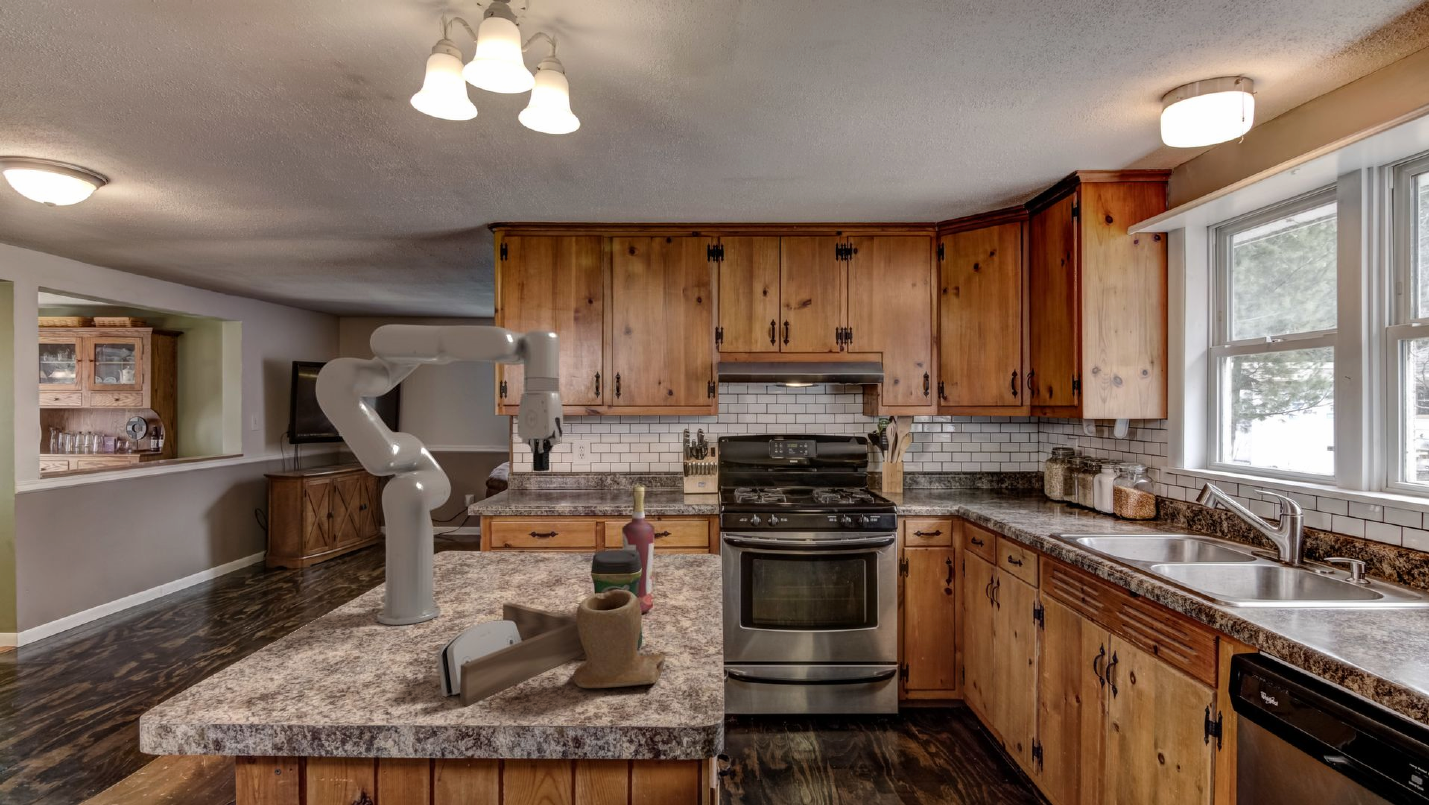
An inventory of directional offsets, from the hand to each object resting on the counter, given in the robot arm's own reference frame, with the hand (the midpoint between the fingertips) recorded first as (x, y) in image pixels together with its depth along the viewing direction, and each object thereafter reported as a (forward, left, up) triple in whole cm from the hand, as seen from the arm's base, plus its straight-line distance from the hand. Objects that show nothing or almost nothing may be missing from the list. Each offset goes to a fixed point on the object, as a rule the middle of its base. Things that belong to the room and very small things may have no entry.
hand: (541, 470), depth 140 cm
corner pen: (+12, -23, -32) cm, 41 cm away
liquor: (+15, +15, -32) cm, 39 cm away
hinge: (+16, -27, -33) cm, 45 cm away
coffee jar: (+26, -5, -32) cm, 42 cm away
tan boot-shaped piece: (+37, -17, -32) cm, 52 cm away
